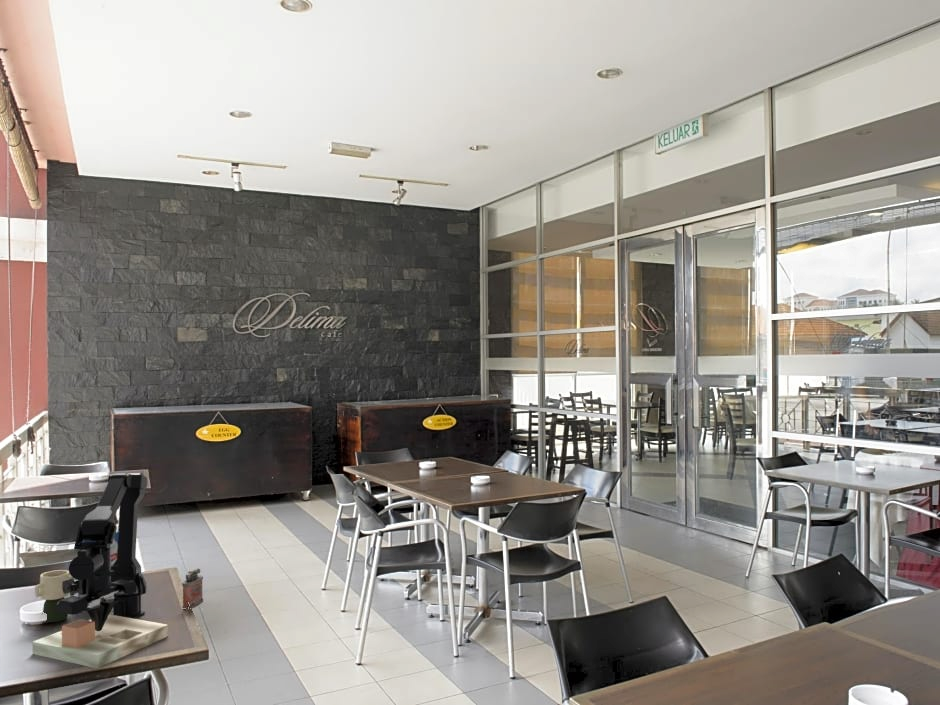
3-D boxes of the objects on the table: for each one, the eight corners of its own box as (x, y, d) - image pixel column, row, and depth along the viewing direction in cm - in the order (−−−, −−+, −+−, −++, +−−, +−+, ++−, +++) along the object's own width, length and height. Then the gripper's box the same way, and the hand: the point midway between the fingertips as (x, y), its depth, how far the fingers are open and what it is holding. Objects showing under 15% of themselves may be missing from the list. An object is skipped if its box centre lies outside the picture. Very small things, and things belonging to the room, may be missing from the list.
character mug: (65, 612, 207) (65, 566, 207) (81, 616, 204) (81, 569, 204) (27, 625, 197) (27, 577, 197) (43, 629, 194) (43, 580, 194)
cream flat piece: (106, 624, 197) (106, 613, 197) (167, 636, 188) (167, 624, 188) (32, 654, 177) (32, 641, 177) (97, 668, 169) (97, 655, 169)
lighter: (190, 610, 208) (189, 575, 208) (179, 609, 208) (179, 574, 208) (205, 601, 216) (205, 567, 216) (195, 600, 216) (195, 566, 216)
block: (80, 637, 180) (80, 619, 180) (94, 640, 178) (94, 621, 178) (62, 644, 175) (61, 626, 175) (76, 647, 173) (76, 628, 173)
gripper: (106, 555, 194) (107, 614, 194) (40, 574, 177) (41, 639, 177) (137, 559, 189) (138, 619, 189) (72, 580, 172) (73, 646, 172)
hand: (98, 630), depth 182 cm, fingers closed
